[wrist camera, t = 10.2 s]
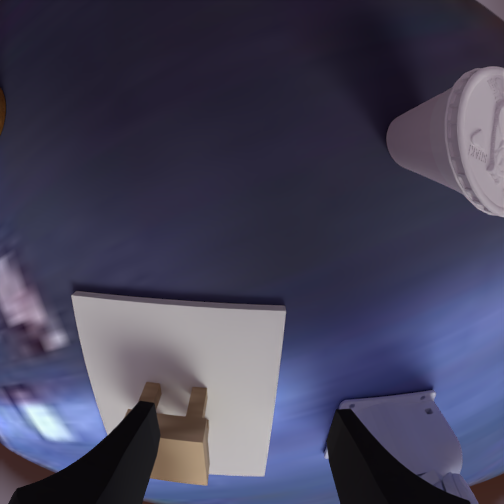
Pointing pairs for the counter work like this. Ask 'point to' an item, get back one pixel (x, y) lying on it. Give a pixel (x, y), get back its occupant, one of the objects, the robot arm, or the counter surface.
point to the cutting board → (188, 366)
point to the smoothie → (458, 138)
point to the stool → (181, 439)
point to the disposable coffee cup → (2, 110)
